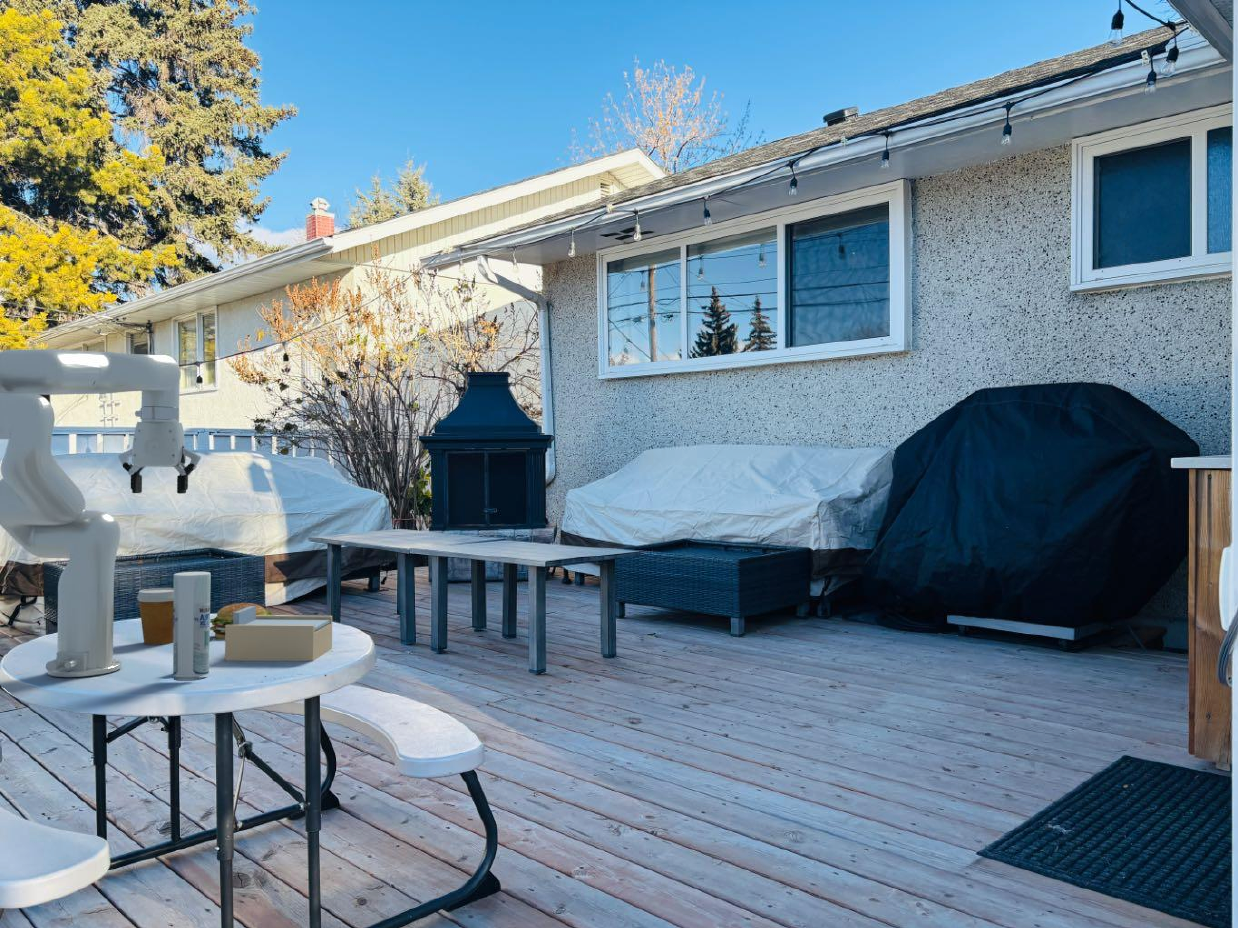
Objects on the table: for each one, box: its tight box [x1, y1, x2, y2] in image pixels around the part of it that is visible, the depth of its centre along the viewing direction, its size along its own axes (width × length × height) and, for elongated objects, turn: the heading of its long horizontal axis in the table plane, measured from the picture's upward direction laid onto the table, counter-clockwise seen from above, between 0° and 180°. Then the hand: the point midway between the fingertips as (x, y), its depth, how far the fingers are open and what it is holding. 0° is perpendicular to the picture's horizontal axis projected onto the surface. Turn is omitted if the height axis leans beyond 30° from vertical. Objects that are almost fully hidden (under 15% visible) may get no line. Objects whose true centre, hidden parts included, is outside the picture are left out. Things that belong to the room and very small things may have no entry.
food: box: [210, 602, 275, 640], centre depth 219 cm, size 14×14×8 cm
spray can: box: [172, 571, 212, 682], centre depth 176 cm, size 6×6×20 cm
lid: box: [233, 606, 330, 630], centre depth 194 cm, size 11×18×4 cm, turn 91°
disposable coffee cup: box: [136, 587, 174, 646], centre depth 210 cm, size 10×10×12 cm
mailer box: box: [224, 614, 333, 662], centre depth 194 cm, size 13×18×8 cm
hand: (159, 493), depth 203 cm, fingers open, 9 cm apart
